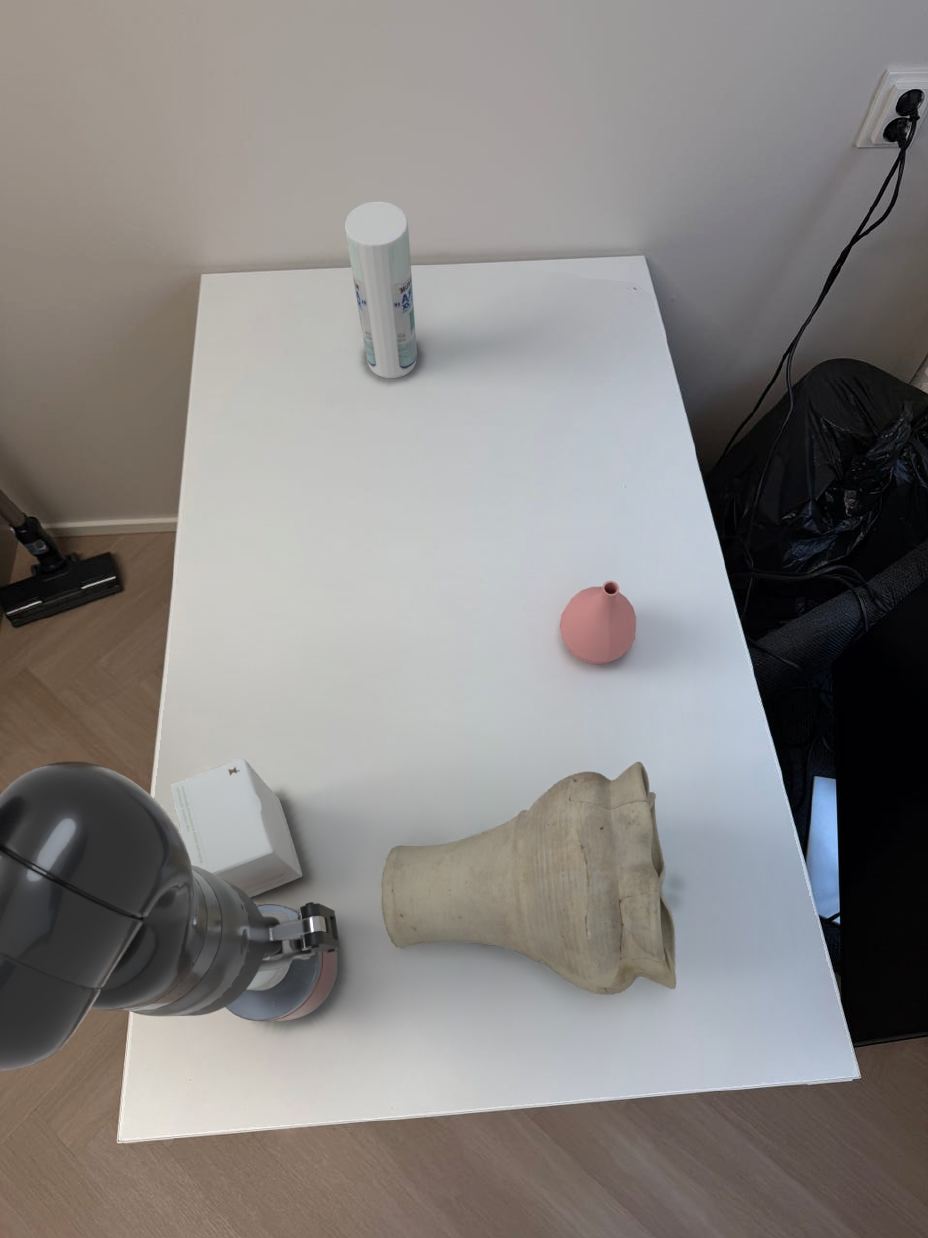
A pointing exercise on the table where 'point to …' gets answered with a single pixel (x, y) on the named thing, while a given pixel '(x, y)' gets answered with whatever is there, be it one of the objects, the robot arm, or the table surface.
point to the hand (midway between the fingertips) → (248, 957)
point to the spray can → (383, 286)
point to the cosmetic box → (236, 828)
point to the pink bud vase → (598, 624)
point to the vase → (549, 886)
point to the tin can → (290, 985)
